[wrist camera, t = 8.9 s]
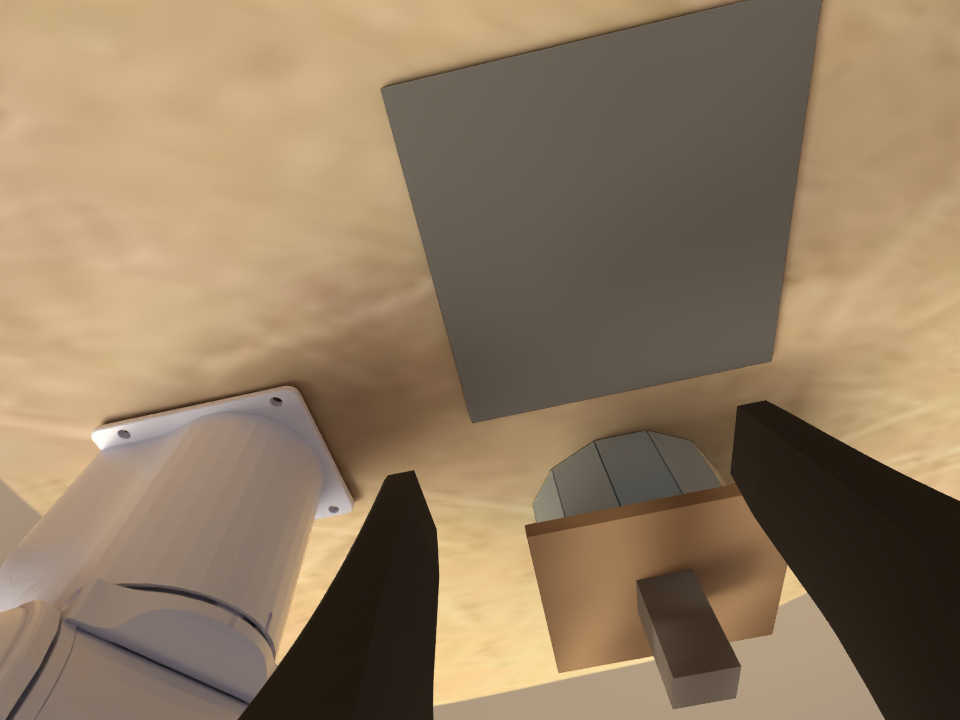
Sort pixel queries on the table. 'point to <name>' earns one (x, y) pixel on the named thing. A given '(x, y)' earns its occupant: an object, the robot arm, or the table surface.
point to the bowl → (624, 475)
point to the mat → (611, 202)
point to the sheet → (646, 550)
